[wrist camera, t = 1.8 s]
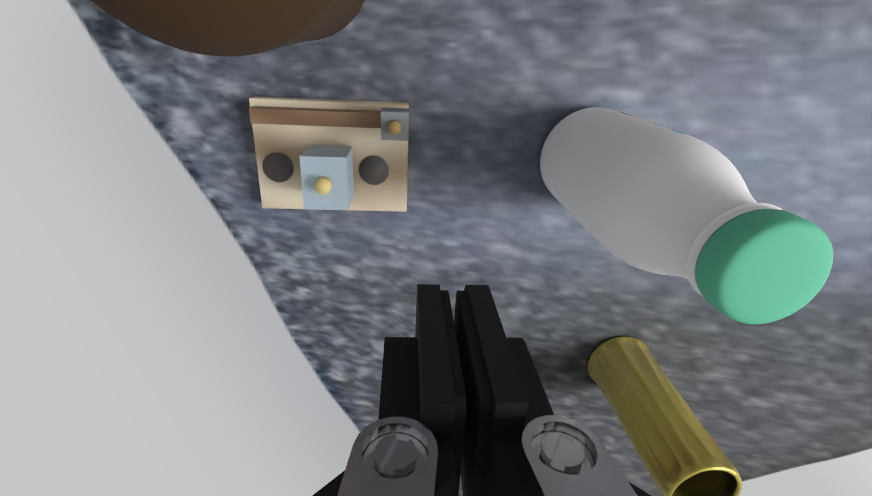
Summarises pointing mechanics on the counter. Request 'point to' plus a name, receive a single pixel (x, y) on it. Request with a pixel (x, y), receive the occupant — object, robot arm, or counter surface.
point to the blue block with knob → (327, 177)
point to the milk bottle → (683, 214)
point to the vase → (661, 422)
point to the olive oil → (233, 22)
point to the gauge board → (334, 126)
